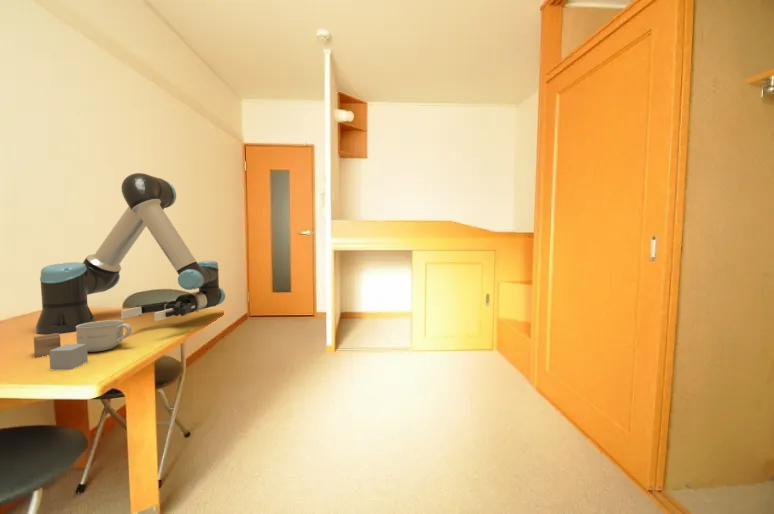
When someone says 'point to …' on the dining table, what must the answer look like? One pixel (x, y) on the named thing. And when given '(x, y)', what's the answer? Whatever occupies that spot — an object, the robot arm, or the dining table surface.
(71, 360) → the slate block
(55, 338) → the walnut block
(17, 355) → the dining table surface
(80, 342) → the teacup
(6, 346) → the dining table surface
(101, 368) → the dining table surface
